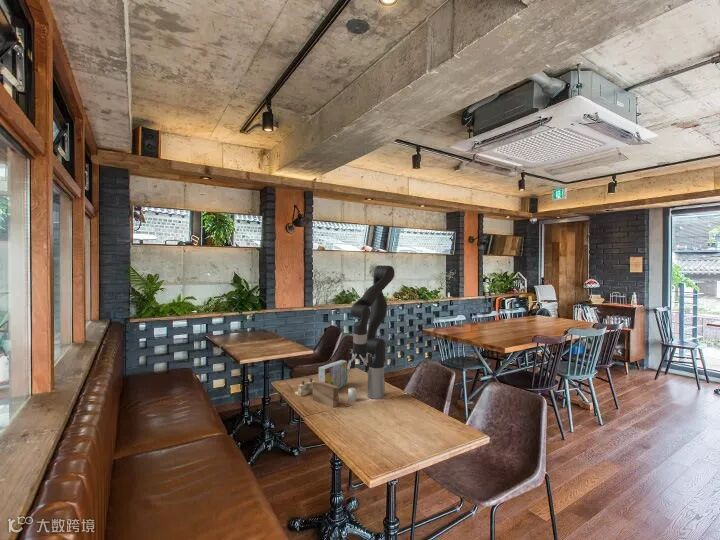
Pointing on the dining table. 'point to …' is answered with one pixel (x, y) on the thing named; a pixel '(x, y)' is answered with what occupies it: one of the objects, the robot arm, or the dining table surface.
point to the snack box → (334, 373)
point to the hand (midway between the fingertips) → (359, 369)
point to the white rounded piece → (352, 394)
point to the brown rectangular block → (325, 393)
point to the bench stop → (305, 388)
